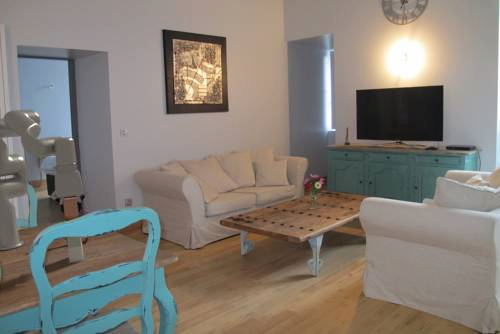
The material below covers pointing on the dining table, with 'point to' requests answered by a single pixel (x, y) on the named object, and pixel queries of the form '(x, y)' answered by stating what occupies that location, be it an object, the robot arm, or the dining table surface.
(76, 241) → the sage brick
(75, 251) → the cream brick
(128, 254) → the dining table surface
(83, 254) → the build mat
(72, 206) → the terracotta brick
